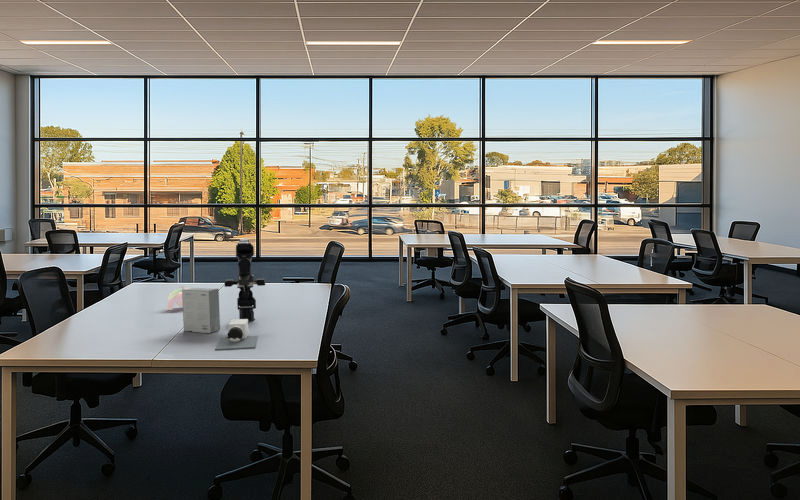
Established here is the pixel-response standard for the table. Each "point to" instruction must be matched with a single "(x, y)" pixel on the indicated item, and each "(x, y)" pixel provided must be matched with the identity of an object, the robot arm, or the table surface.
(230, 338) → the medicine bottle
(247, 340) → the mat
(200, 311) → the hard drive box
